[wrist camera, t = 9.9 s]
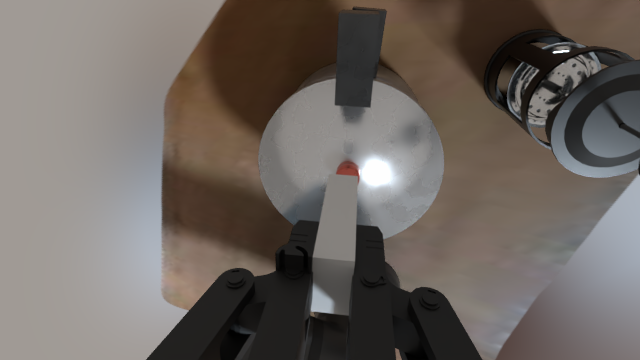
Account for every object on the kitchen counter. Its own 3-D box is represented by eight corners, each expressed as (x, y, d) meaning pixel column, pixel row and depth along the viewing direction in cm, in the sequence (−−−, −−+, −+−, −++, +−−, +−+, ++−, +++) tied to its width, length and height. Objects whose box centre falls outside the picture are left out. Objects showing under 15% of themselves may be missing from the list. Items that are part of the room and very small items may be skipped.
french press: (464, 67, 40) (557, 147, 20) (542, 3, 36) (753, 26, 16) (518, 137, 44) (645, 265, 24) (596, 85, 40) (827, 187, 20)
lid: (423, 243, 41) (430, 272, 37) (266, 228, 43) (255, 254, 38) (475, 13, 29) (493, 18, 24) (252, 5, 30) (234, 9, 26)
